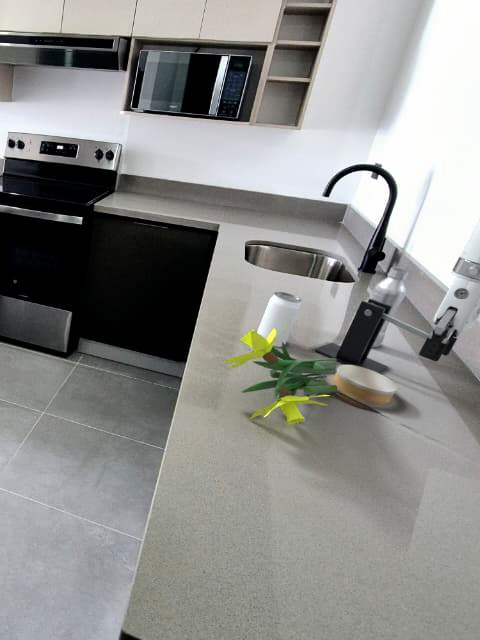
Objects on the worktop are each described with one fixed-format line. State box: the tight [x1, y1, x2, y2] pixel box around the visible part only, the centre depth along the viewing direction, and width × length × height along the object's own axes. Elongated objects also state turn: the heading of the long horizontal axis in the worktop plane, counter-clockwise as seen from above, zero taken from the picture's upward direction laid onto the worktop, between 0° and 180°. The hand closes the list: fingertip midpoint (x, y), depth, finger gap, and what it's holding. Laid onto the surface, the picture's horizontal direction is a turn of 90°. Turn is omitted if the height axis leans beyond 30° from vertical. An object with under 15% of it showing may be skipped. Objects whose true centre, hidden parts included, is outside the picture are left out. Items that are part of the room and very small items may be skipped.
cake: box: [330, 364, 398, 414], centre depth 101 cm, size 14×14×4 cm
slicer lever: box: [371, 303, 450, 344], centre depth 105 cm, size 15×6×2 cm, turn 35°
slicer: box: [314, 298, 392, 374], centre depth 112 cm, size 12×9×15 cm
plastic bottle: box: [370, 266, 410, 349], centre depth 122 cm, size 6×7×20 cm
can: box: [256, 291, 302, 348], centre depth 117 cm, size 6×6×12 cm
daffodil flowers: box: [222, 318, 338, 426], centre depth 89 cm, size 17×15×35 cm
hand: (433, 354), depth 102 cm, fingers closed on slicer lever, 5 cm apart
